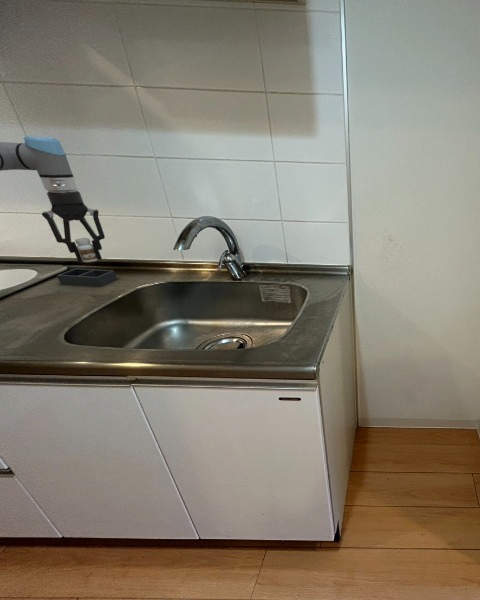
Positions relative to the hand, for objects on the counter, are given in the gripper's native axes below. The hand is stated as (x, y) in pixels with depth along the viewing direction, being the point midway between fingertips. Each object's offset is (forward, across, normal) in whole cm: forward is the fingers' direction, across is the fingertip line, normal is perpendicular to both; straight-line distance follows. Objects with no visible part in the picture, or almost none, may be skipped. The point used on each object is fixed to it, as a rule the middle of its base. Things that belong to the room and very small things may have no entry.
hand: (90, 259), depth 109 cm
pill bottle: (0, 0, 0) cm, 1 cm away
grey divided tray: (+9, -3, +2) cm, 9 cm away
